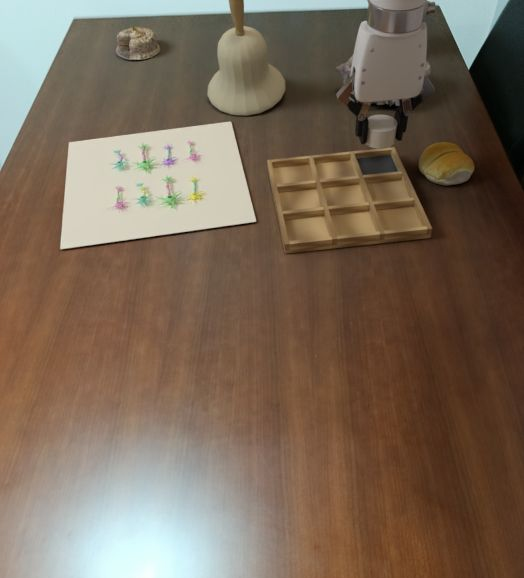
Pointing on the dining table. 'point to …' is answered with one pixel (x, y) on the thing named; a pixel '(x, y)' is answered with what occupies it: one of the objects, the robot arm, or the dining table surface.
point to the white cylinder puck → (381, 131)
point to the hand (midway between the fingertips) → (379, 136)
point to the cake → (137, 44)
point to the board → (345, 200)
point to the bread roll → (445, 164)
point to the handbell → (244, 70)
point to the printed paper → (153, 185)
